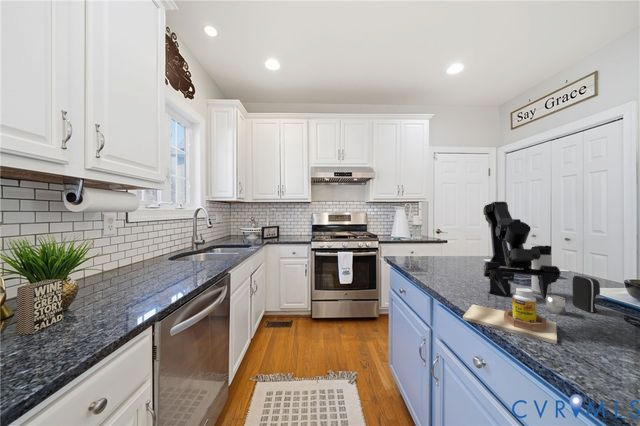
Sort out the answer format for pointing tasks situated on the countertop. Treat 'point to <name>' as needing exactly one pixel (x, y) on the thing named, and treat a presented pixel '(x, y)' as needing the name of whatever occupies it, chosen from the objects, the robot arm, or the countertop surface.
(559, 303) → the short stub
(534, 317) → the supplement bottle
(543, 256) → the travel mug
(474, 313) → the holder board
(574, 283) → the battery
